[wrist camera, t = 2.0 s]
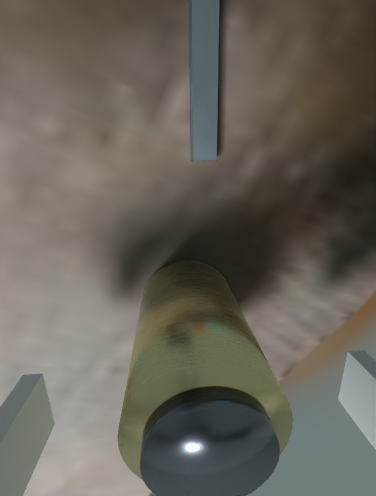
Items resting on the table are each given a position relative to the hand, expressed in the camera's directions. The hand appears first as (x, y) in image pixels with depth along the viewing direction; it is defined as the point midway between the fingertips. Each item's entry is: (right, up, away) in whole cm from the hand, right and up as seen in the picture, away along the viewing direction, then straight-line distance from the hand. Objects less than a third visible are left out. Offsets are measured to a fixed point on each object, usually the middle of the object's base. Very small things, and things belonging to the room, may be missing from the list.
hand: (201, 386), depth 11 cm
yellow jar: (-1, +2, +6) cm, 7 cm away
